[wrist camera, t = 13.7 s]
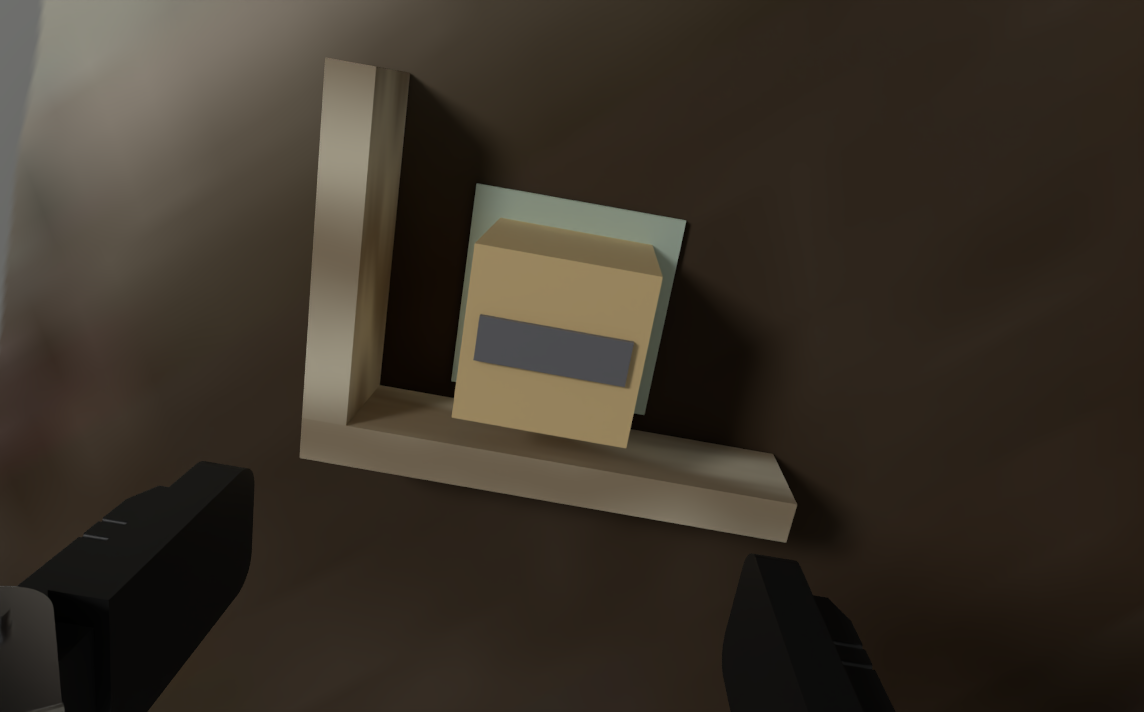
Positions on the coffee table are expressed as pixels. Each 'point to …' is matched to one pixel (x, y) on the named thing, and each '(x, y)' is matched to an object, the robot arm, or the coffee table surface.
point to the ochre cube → (556, 331)
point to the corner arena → (424, 421)
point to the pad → (587, 220)
